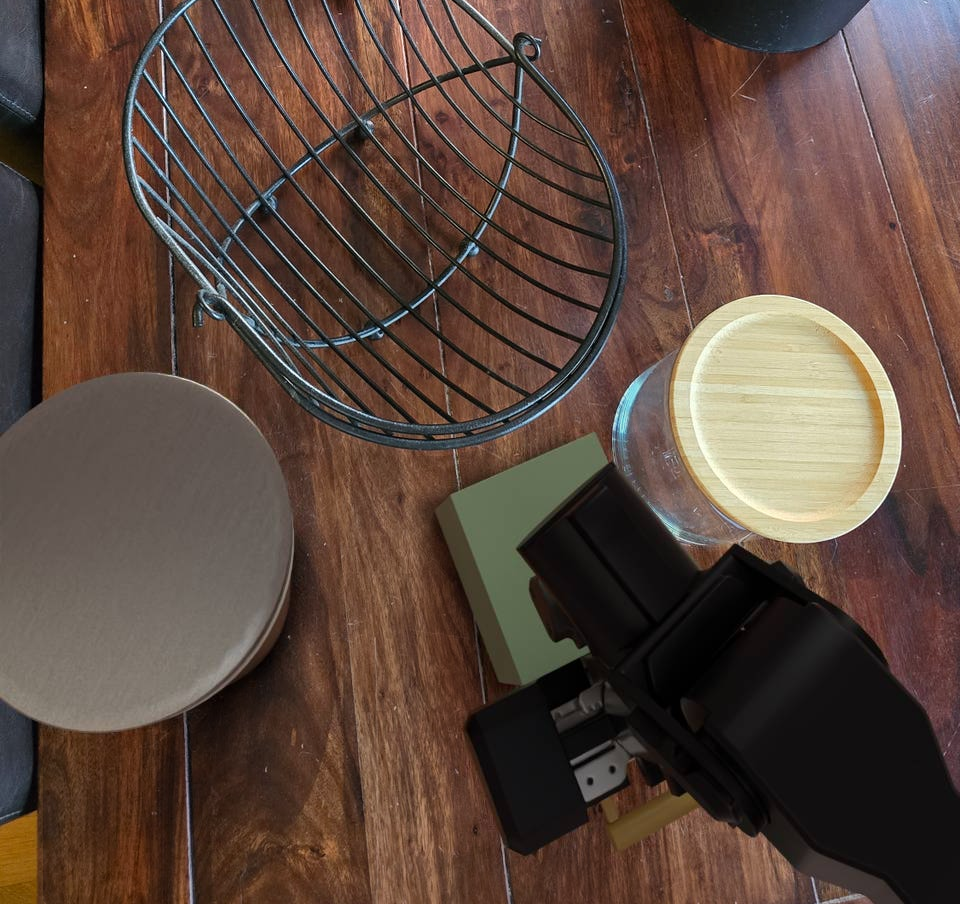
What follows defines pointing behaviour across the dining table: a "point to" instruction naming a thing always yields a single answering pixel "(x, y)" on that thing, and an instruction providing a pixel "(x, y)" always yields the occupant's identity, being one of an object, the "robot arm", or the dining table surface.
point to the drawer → (643, 814)
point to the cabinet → (514, 554)
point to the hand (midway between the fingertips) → (614, 692)
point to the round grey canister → (137, 552)
